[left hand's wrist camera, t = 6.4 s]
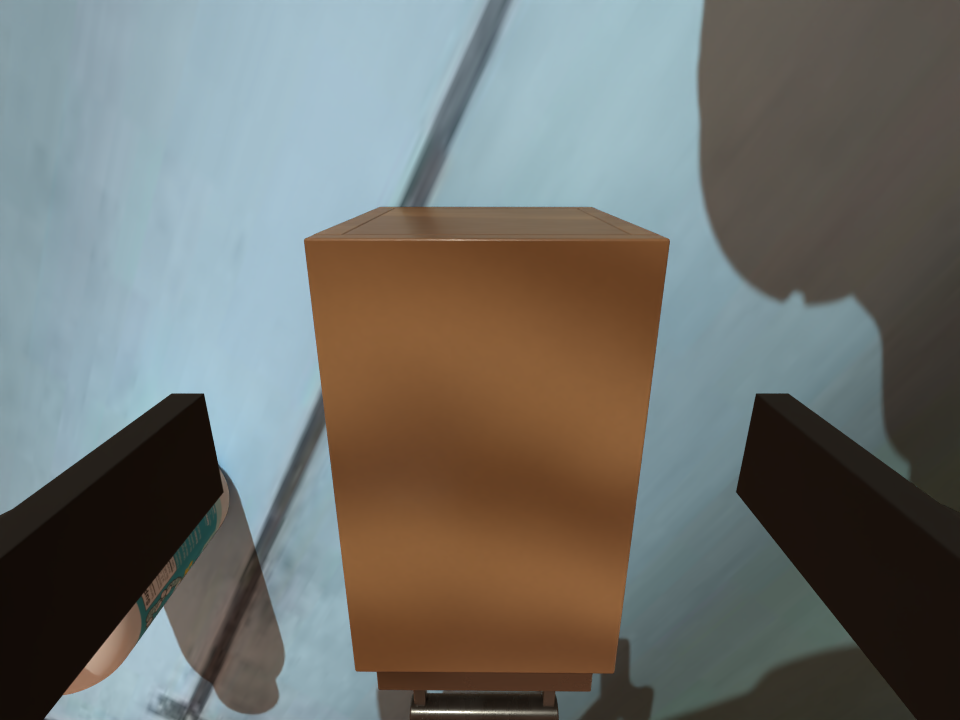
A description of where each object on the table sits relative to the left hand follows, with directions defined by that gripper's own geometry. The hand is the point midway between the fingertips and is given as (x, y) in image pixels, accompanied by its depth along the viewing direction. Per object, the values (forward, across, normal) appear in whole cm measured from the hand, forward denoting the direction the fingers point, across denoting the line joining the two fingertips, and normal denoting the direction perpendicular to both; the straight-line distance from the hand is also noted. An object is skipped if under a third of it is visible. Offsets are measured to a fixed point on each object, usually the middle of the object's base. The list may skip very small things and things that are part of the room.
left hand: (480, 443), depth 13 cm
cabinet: (+16, 0, -4) cm, 16 cm away
